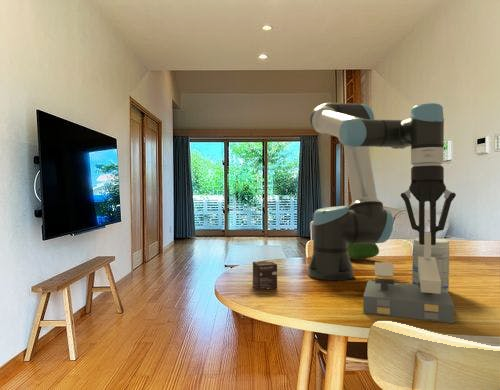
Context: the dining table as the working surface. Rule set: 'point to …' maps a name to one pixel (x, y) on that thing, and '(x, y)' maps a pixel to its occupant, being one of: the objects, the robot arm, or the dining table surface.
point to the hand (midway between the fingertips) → (427, 257)
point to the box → (264, 274)
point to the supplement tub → (441, 256)
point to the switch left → (384, 269)
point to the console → (407, 301)
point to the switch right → (429, 275)
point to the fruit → (362, 251)
